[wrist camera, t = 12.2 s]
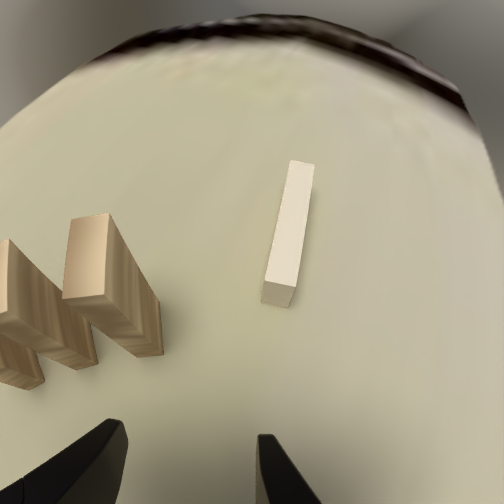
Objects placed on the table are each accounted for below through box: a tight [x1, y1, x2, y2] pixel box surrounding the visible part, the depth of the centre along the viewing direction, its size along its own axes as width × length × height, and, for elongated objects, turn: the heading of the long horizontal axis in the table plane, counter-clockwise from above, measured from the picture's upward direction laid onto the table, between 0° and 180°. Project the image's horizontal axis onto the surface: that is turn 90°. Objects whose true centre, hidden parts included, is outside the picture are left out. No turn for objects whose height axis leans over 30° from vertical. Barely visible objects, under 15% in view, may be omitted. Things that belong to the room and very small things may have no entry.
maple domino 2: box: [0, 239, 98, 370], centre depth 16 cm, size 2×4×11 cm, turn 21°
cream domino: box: [261, 160, 314, 308], centre depth 24 cm, size 2×4×11 cm
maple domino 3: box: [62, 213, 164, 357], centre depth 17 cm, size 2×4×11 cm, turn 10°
